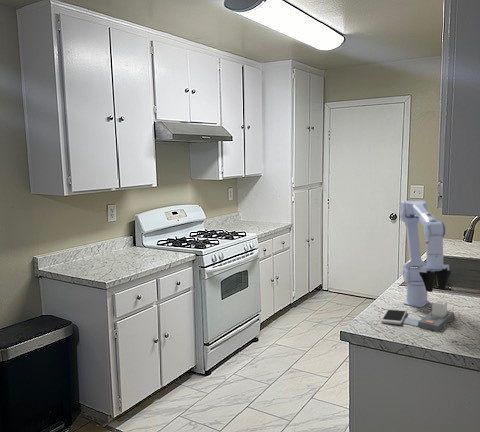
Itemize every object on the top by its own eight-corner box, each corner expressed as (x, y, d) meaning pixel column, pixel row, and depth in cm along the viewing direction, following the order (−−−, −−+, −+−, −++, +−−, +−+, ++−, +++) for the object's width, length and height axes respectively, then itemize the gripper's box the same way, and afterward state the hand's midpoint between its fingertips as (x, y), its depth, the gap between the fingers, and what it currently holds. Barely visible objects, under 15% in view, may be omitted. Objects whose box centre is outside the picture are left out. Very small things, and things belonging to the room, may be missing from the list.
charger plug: (435, 317, 174) (436, 299, 173) (446, 319, 171) (447, 301, 170) (432, 320, 171) (432, 301, 170) (442, 322, 168) (443, 304, 167)
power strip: (435, 313, 178) (435, 307, 177) (453, 317, 173) (454, 311, 173) (418, 326, 164) (418, 320, 164) (437, 331, 160) (438, 325, 159)
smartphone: (407, 311, 179) (407, 309, 179) (400, 324, 165) (400, 322, 165) (388, 310, 182) (388, 307, 182) (381, 322, 169) (381, 320, 169)
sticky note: (406, 318, 173) (406, 317, 173) (423, 321, 169) (423, 321, 169) (400, 322, 169) (400, 322, 169) (417, 326, 164) (417, 326, 164)
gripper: (432, 255, 159) (433, 293, 159) (456, 253, 167) (457, 290, 167) (415, 254, 165) (416, 291, 165) (439, 252, 173) (440, 287, 173)
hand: (435, 290), depth 166 cm, fingers open, 7 cm apart
